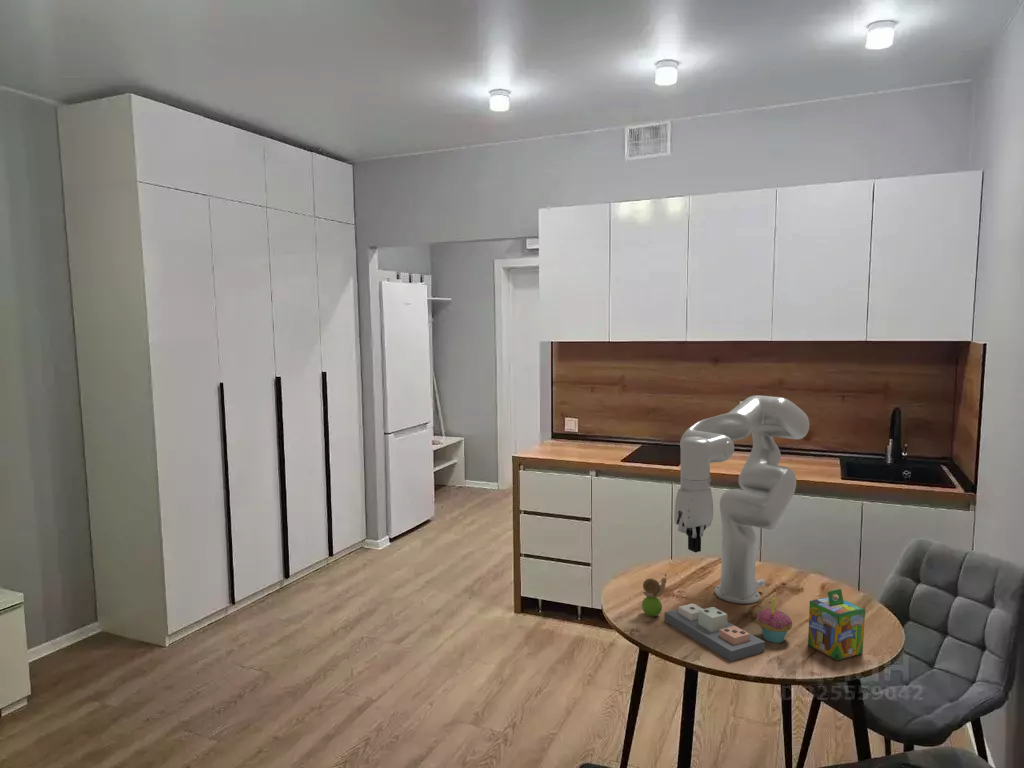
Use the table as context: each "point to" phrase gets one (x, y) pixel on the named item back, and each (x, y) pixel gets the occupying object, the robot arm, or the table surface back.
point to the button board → (714, 637)
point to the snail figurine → (653, 596)
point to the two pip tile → (712, 619)
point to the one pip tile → (690, 611)
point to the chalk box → (836, 626)
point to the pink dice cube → (734, 635)
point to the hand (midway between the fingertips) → (694, 550)
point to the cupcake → (774, 624)
